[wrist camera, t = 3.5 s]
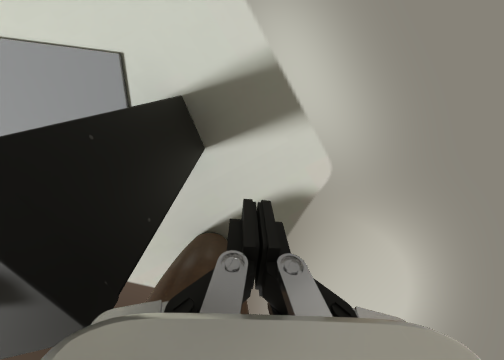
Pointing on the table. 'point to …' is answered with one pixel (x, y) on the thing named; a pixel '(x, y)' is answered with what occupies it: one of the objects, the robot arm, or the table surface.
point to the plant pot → (191, 267)
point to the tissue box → (83, 214)
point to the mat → (56, 84)
